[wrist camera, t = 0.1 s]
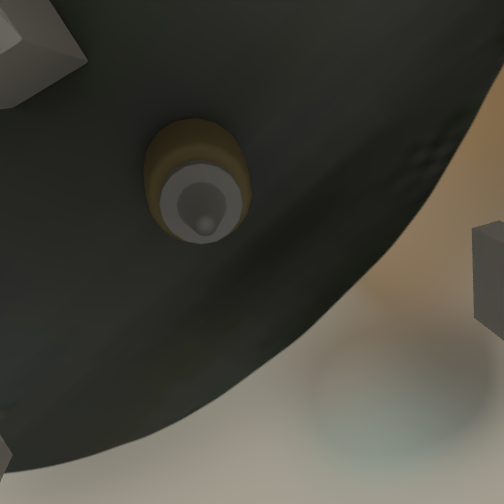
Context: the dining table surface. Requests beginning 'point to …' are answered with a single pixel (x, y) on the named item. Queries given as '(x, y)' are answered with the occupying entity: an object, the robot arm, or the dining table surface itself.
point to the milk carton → (33, 50)
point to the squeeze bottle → (196, 181)
